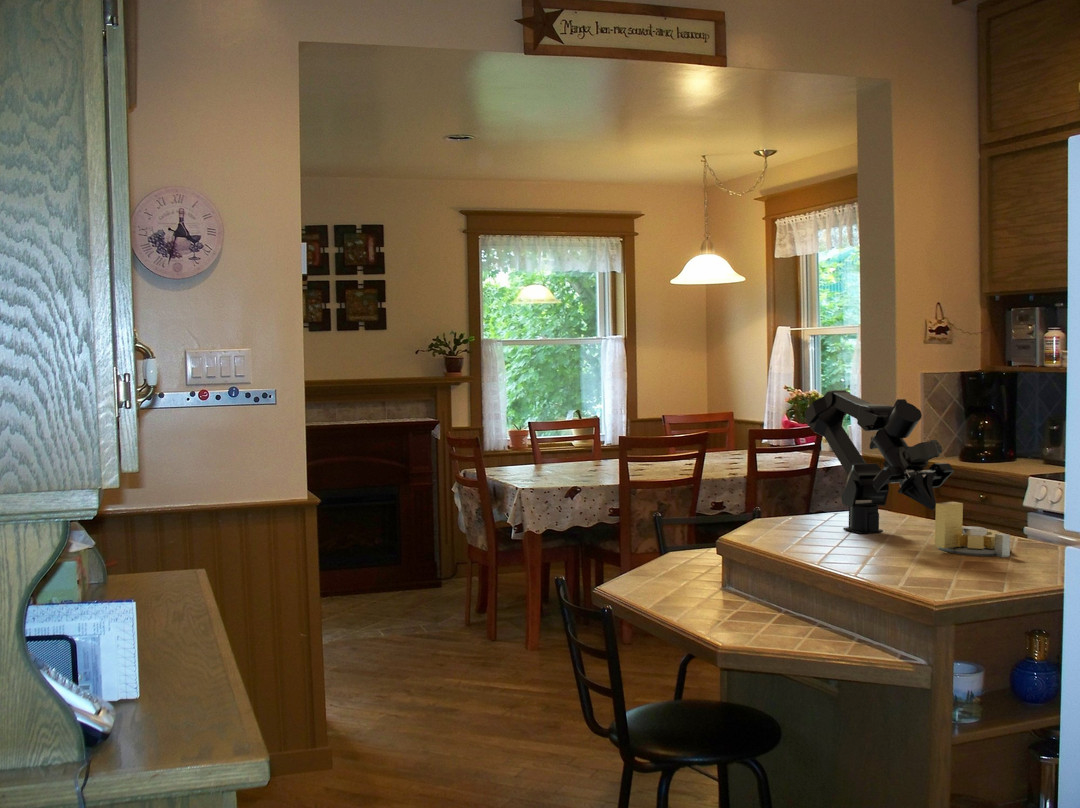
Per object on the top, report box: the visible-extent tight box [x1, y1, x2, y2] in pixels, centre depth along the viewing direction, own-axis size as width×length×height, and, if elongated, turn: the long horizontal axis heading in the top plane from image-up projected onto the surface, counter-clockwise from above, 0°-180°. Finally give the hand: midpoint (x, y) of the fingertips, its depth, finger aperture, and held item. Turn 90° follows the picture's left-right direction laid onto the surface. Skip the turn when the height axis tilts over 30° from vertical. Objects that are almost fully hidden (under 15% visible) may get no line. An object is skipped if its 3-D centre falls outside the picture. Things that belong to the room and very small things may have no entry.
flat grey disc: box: [937, 525, 1011, 559], centre depth 216 cm, size 16×14×4 cm
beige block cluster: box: [934, 501, 1002, 549], centre depth 215 cm, size 11×16×9 cm
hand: (934, 508), depth 217 cm, fingers closed
